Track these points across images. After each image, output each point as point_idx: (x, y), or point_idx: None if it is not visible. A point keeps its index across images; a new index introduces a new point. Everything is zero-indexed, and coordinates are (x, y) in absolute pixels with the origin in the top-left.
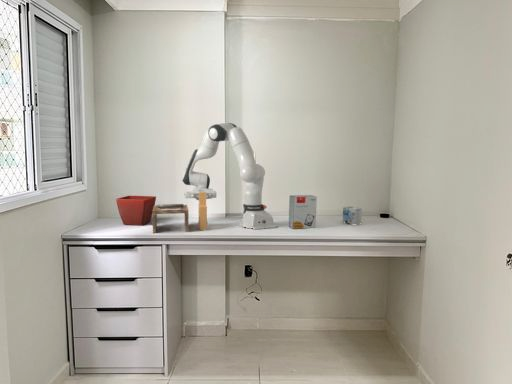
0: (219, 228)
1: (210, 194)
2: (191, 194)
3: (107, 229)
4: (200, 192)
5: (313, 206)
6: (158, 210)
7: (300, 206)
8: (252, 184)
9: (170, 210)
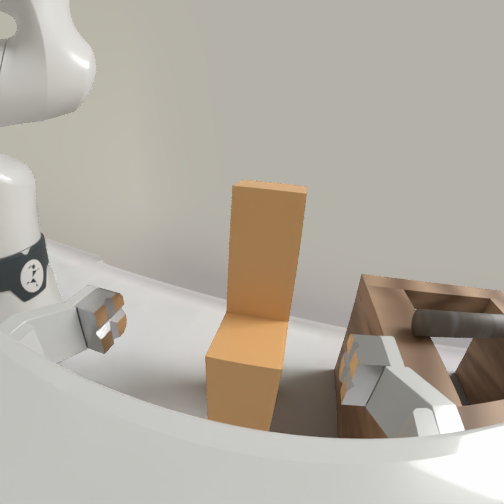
0: (166, 379)
1: (47, 311)
2: (433, 390)
3: None
4: (295, 185)
5: None
6: (484, 289)
7: None
8: None
9: (442, 285)
